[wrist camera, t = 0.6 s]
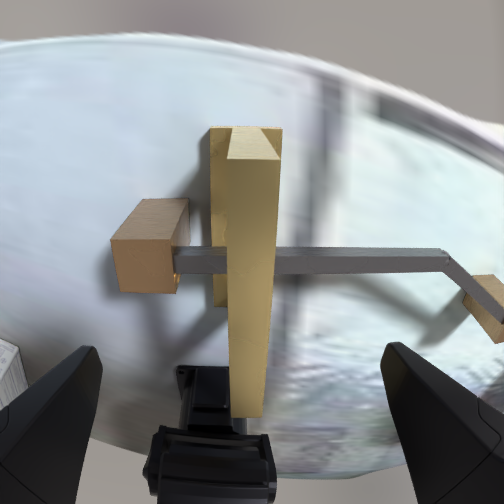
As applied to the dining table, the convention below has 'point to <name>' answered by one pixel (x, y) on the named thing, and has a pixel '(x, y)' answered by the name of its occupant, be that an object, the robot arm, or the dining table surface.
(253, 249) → the wooden frame
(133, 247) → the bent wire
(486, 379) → the dining table surface
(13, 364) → the medicine box
